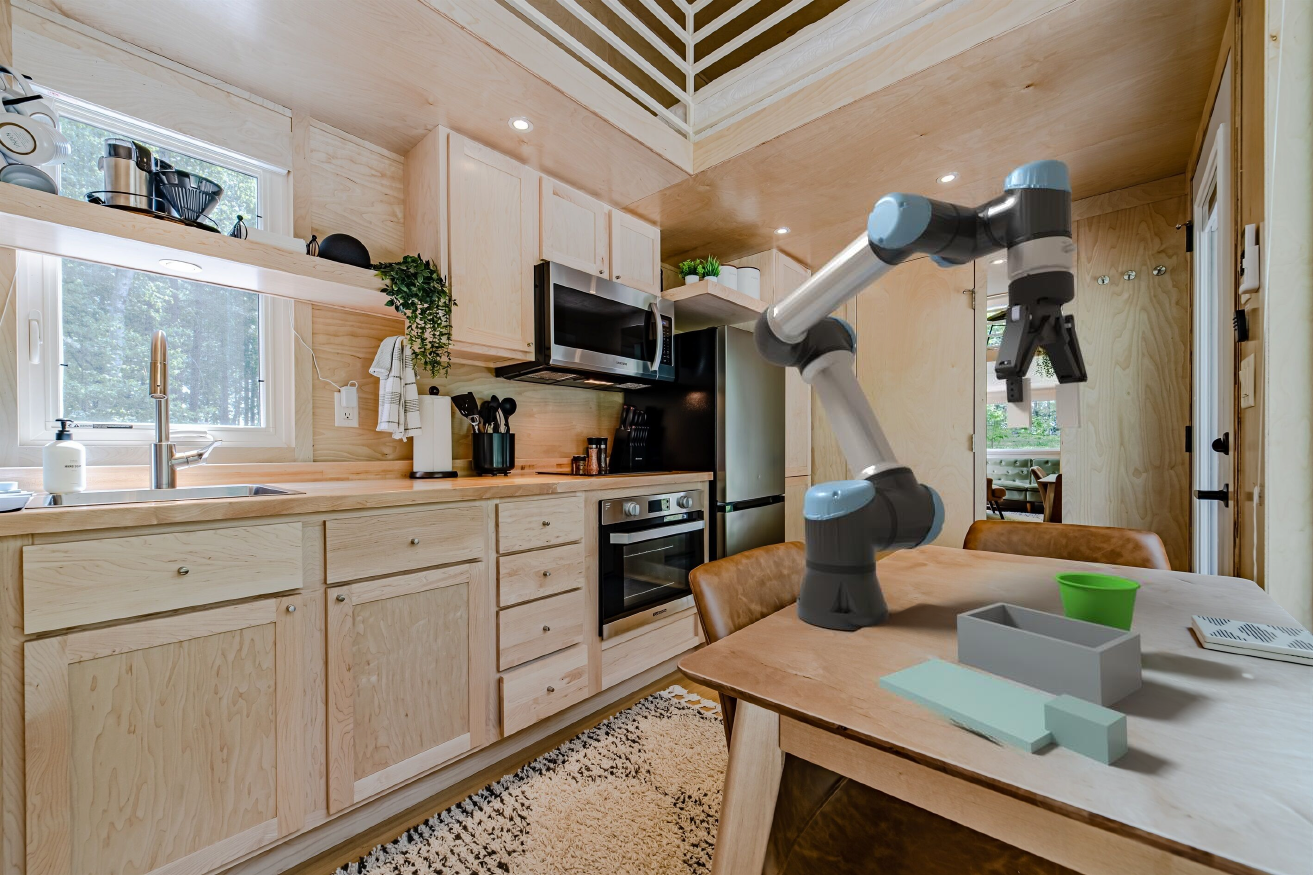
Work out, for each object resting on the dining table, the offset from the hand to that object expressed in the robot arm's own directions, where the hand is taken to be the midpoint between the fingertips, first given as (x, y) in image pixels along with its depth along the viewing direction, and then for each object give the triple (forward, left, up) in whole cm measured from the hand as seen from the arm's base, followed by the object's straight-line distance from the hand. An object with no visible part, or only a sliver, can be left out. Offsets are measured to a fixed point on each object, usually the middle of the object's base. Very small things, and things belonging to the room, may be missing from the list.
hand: (1045, 428), depth 75 cm
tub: (+3, -9, -32) cm, 33 cm away
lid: (+5, -24, -32) cm, 40 cm away
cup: (+4, +3, -32) cm, 32 cm away
